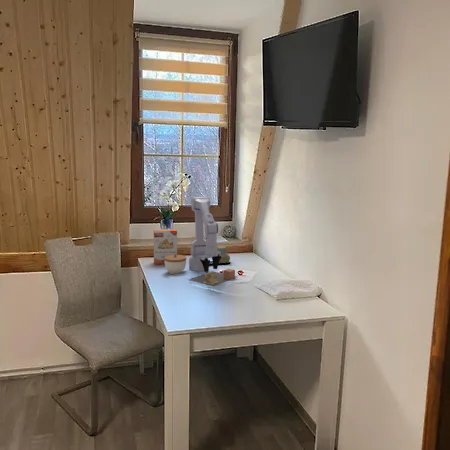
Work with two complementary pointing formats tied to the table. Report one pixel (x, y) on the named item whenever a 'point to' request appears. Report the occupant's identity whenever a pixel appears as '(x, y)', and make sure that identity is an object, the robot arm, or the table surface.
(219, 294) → the table surface
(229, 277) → the terracotta block
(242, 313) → the table surface
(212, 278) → the maple block
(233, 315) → the table surface
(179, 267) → the lidded bowl
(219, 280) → the plate
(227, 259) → the air freshener
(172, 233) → the cracker box
